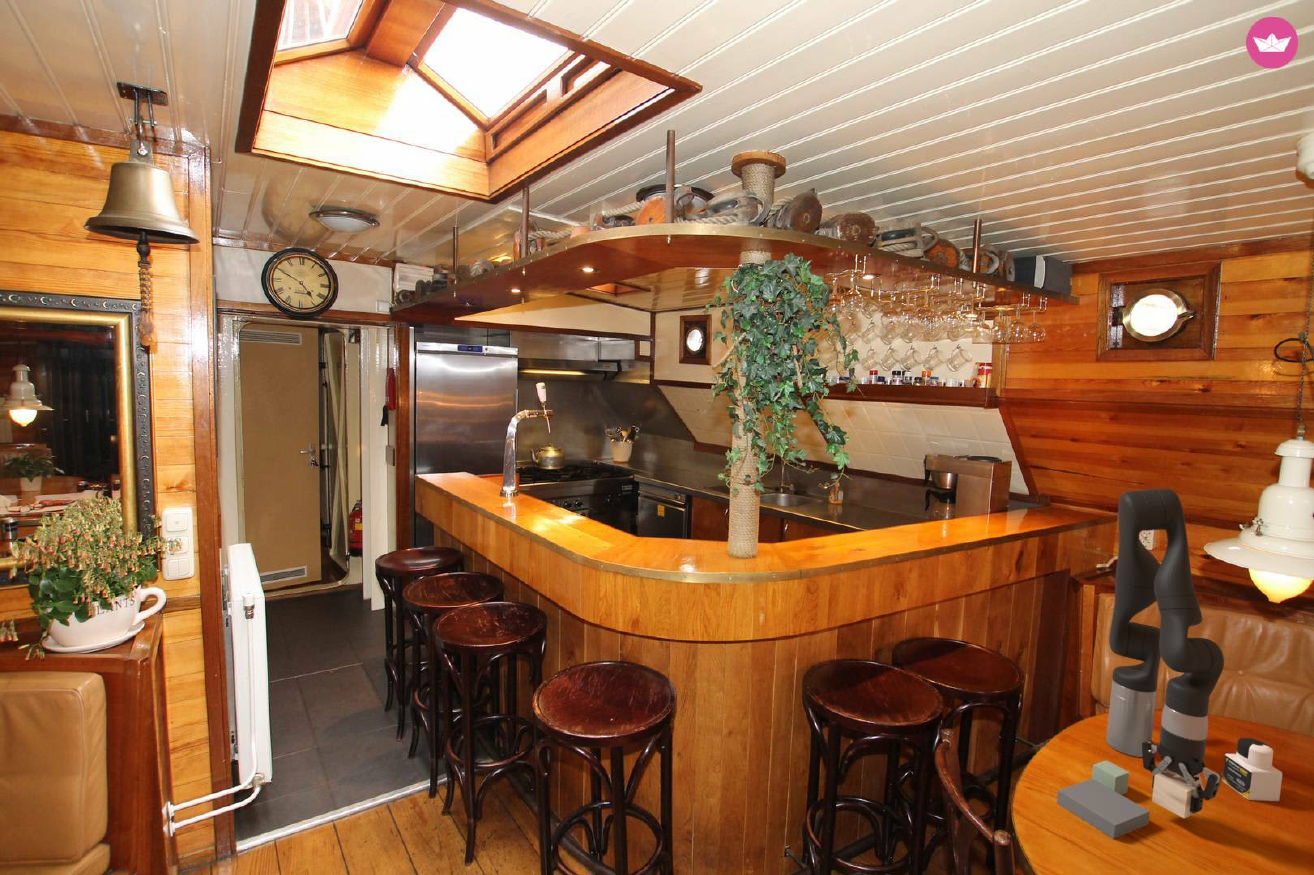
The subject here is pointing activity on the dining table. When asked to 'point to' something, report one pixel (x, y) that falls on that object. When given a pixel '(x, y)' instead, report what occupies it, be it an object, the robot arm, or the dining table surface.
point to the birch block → (1172, 793)
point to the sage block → (1111, 776)
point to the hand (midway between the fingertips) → (1175, 801)
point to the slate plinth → (1103, 808)
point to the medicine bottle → (1253, 771)
